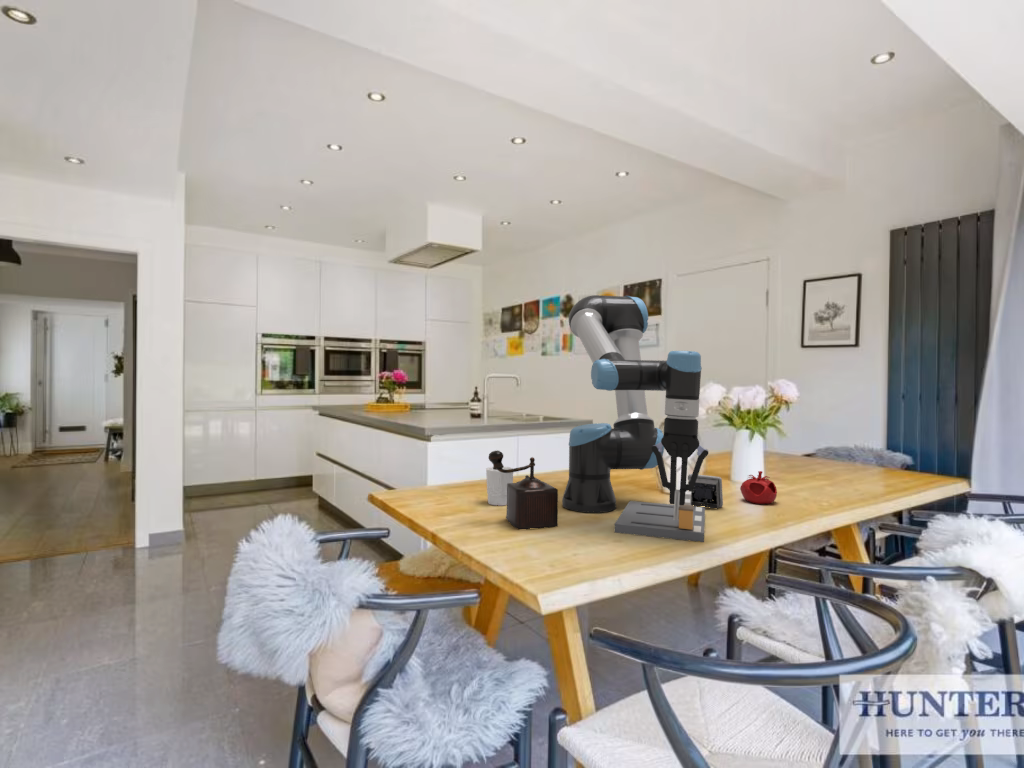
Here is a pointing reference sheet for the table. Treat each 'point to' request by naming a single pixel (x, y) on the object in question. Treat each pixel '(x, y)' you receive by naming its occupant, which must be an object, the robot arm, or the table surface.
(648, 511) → the grey slider board
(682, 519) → the brown rectangular block
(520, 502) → the manual coffee grinder
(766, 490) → the pomegranate
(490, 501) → the white cup
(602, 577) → the table surface
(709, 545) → the table surface
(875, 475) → the table surface
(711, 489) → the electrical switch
